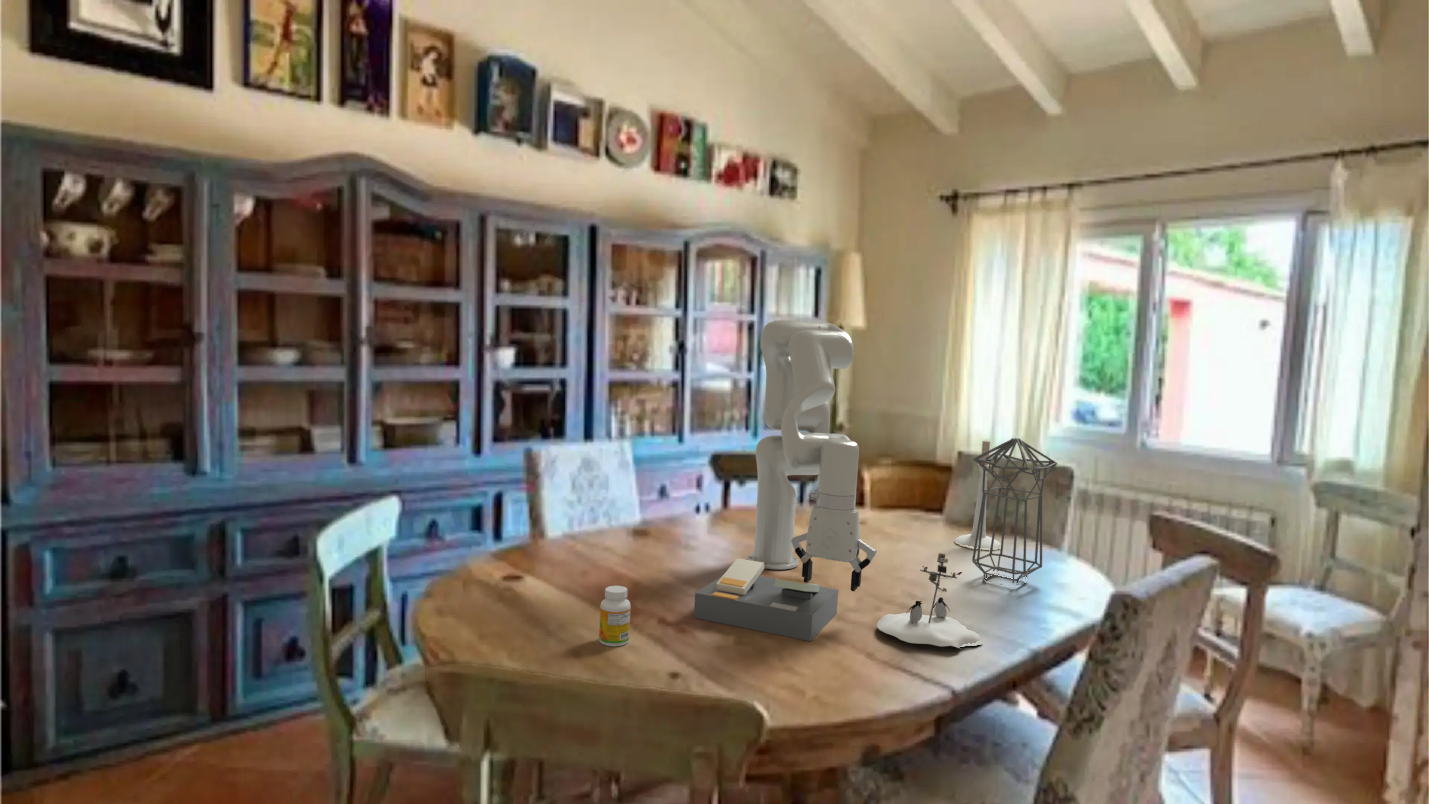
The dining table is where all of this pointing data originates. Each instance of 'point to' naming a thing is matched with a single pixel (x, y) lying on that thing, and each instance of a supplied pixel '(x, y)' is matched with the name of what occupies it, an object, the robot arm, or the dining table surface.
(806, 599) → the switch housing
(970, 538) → the candlestick
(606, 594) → the supplement bottle
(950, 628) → the figurine
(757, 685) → the dining table surface
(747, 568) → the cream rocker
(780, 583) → the sage rocker
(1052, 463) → the geometric lantern
